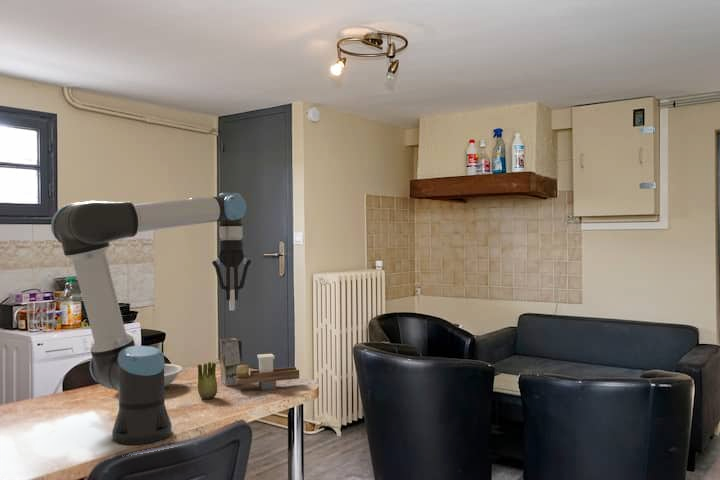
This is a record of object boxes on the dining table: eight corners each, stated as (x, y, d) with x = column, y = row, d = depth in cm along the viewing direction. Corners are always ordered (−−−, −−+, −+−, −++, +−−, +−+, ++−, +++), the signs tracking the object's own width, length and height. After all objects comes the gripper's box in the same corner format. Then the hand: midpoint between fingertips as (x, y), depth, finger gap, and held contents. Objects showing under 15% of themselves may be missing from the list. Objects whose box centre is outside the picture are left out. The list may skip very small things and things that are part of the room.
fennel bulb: (196, 400, 197) (196, 363, 197) (202, 396, 202) (201, 360, 202) (214, 400, 197) (213, 363, 197) (218, 396, 202) (218, 360, 202)
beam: (299, 387, 212) (299, 363, 212) (237, 393, 205) (236, 368, 205) (295, 383, 219) (295, 359, 219) (234, 388, 212) (234, 364, 212)
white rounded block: (274, 376, 210) (274, 356, 210) (260, 377, 208) (259, 357, 208) (271, 372, 215) (271, 353, 215) (257, 374, 214) (257, 354, 214)
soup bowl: (191, 380, 225) (191, 363, 225) (170, 397, 201) (169, 378, 201) (128, 381, 225) (128, 363, 225) (99, 398, 201) (99, 378, 201)
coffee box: (242, 384, 218) (242, 340, 218) (225, 386, 215) (224, 342, 215) (237, 379, 226) (236, 336, 226) (220, 381, 223) (219, 338, 223)
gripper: (249, 239, 205) (250, 307, 205) (210, 239, 201) (211, 309, 201) (252, 239, 198) (253, 310, 198) (212, 239, 193) (213, 312, 193)
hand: (232, 309), depth 199 cm, fingers closed
